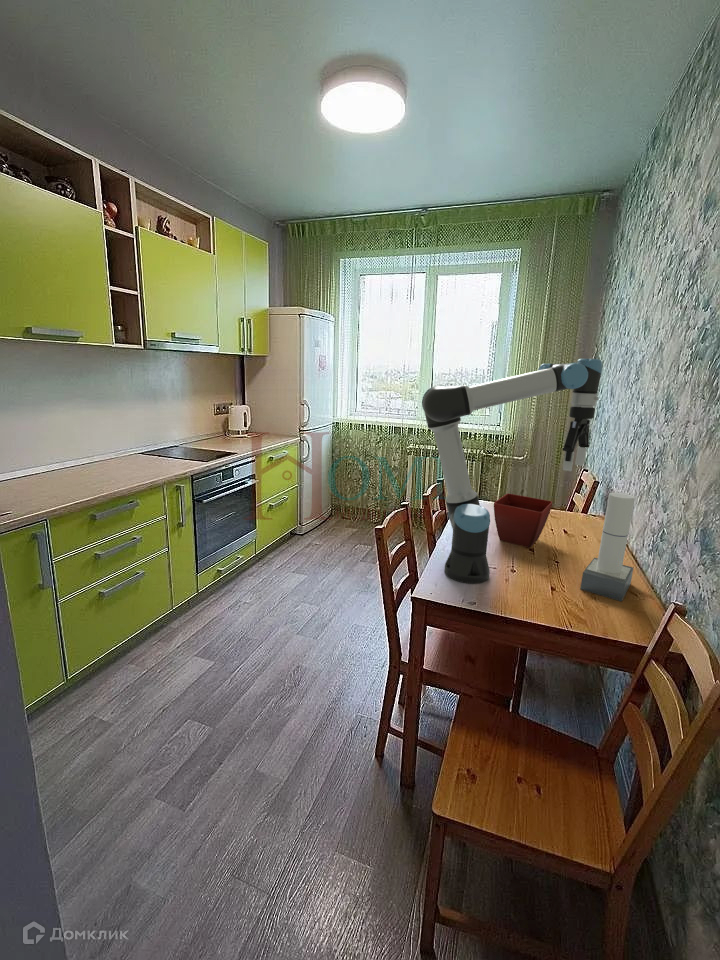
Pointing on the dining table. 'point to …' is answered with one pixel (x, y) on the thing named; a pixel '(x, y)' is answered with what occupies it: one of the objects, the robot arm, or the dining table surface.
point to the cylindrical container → (615, 532)
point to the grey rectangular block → (606, 581)
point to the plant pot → (520, 518)
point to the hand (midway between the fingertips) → (573, 467)
